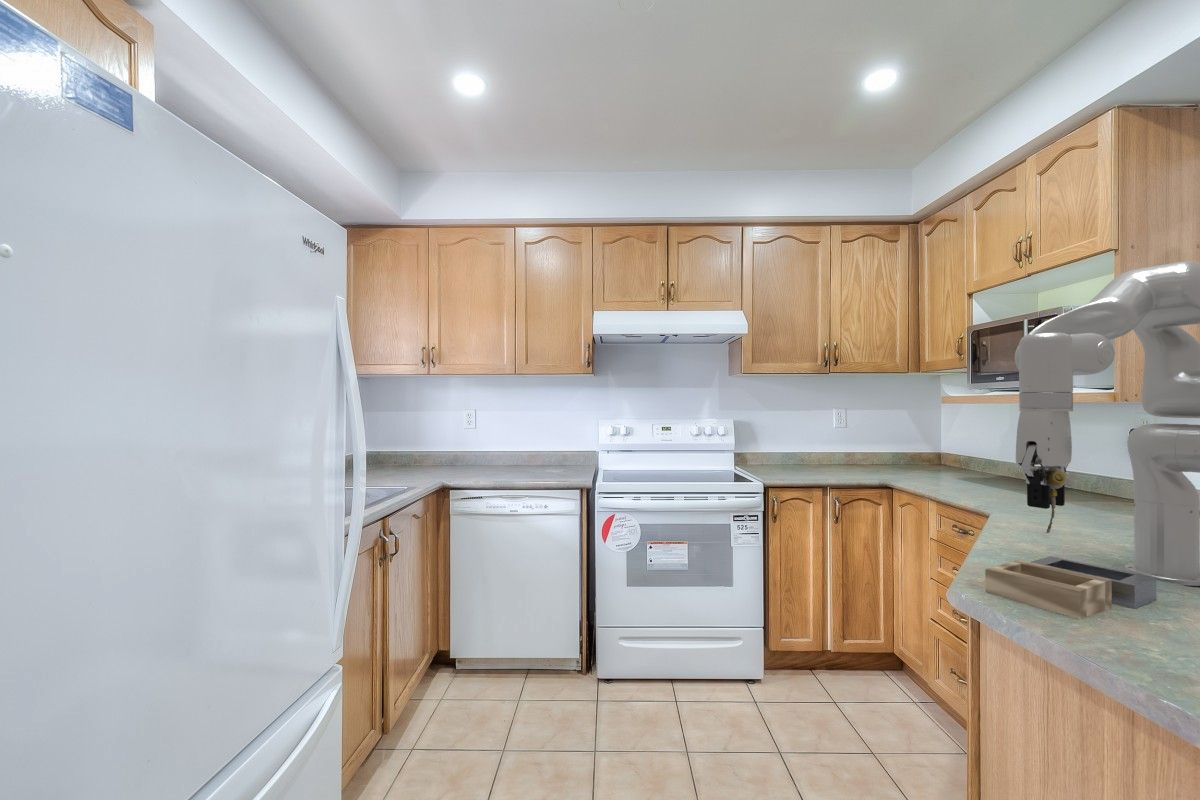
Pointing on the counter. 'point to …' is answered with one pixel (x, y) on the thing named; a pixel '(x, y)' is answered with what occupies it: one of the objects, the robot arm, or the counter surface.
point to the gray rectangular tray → (1112, 581)
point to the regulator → (1054, 487)
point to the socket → (1050, 588)
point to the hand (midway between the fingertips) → (1045, 504)
